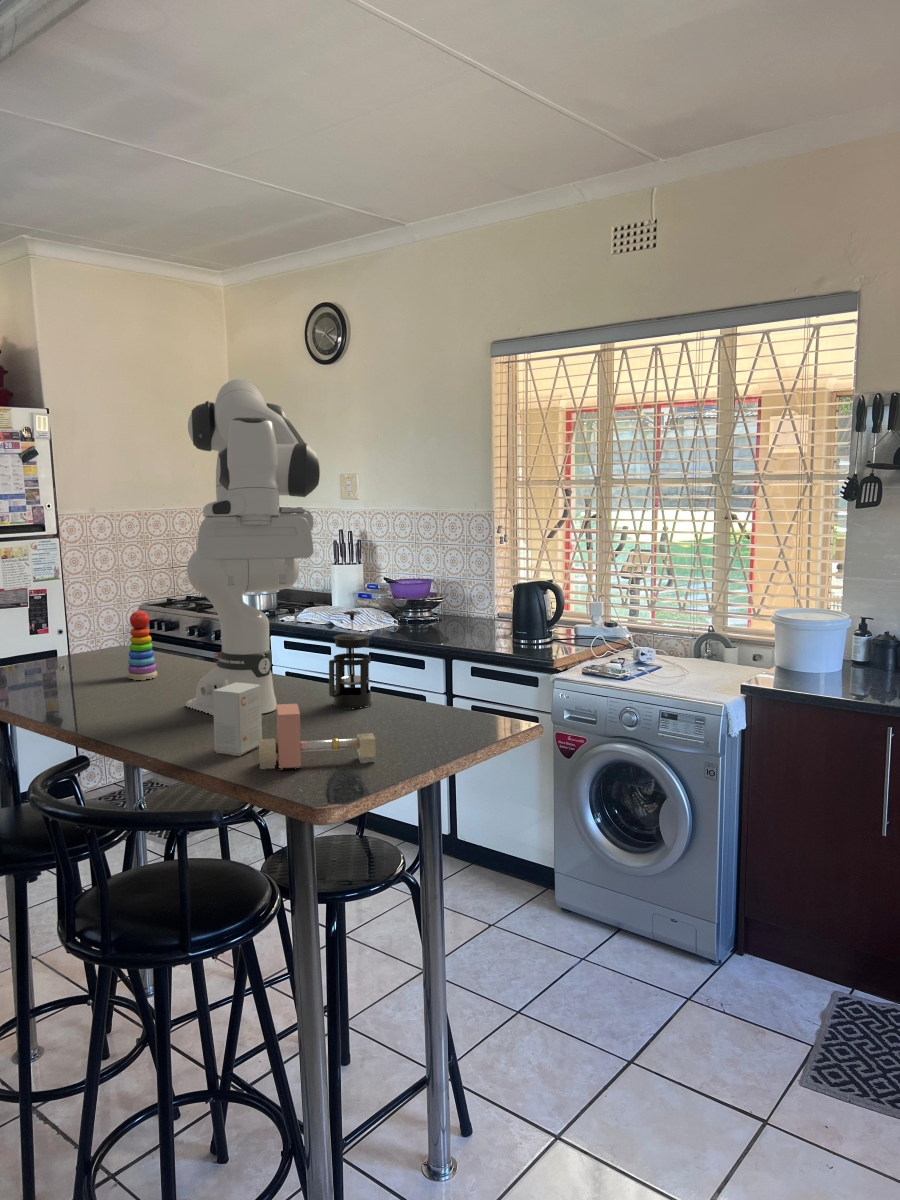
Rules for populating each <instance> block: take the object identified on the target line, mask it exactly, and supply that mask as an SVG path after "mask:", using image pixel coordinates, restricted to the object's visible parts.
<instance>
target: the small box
mask: <svg viewBox="0 0 900 1200" xmlns="http://www.w3.org/2000/svg"><path fill="white" fill-rule="evenodd" d="M213 713H214V715H213V735H214V736H213V738H214V740H213V741H214V744H213V745H214V751H215V750H221V751H228V752H235V753H243V752H245V751H247V750H250V749H252V748H254V747H256V746H258V745H259V739H263V728H262V727H263V726H262V725H263V724H262V723H263V722H262V721H263V720H262V719H263V718H262V717H263V716H262V714H261V685H257V684H249V683H237V682H235V683H233V684H230V685H227V686H224V687H221V688H219V689H216V690H213Z"/></svg>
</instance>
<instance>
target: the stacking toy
mask: <svg viewBox="0 0 900 1200" xmlns="http://www.w3.org/2000/svg"><path fill="white" fill-rule="evenodd" d="M149 623H150V616H149V614H148V613H147V612H145V611H143V610H136V611H134V612H133V613H131V615H130V616H129V624H130V625H131V627H132V628H131V629H130V635H131V637H130V638H129V640H130V644H128V645H129V646H128V647H129V651H128V657H129V658H128V659H127V663H128V667H127V670H128V672H127V673H126V676H127V677H126V678H127V679H128V678H129V679H128V680H130V679H134V680H133V681H136V680H141V681H147V680H146V679H150V680H152V678H153V679H155V678H157V676H158V671H157V664H156V663H155V662H156V661H155V657H154V654H155V653H154V650H153V643H152V640H153V639H152V636H151V635H150V633H151V630H150V629H149V628H148V627H147V626H149Z"/></svg>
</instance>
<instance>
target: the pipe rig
mask: <svg viewBox="0 0 900 1200" xmlns="http://www.w3.org/2000/svg"><path fill="white" fill-rule="evenodd" d="M300 749H301V752H303V753H304V752H319V751H322V752H323V751H332V752H337V751H338V752H339V751H341V750H357V751H356V752H358V754H359V757H360V758H364V757H374V756H375V757H376V737H375V735H374V734H373V732H371V733H370V732H369V733H357V735H356V737H354V738H351V737H350V738H338V737H333V738H332V739H317V740H300ZM277 753H278V743H277V742H276V739H275V738H262V739H259V748H258V761H259V762H258V763H260V766H265V765H276V766H277ZM260 766H259V767H260Z"/></svg>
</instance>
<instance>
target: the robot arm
mask: <svg viewBox="0 0 900 1200" xmlns="http://www.w3.org/2000/svg"><path fill="white" fill-rule="evenodd" d="M281 406H282V405H281ZM281 406H280V405H278V404H275V403H269V402H267V403H266V400H265V398H264V397H263V395H262V393H261V392H260V390H259V389H258V388H257V386H255V384H253V383H252V382H250V381H247V380H244V379H240V378H237V379H232V380H230V381H227V382H226V383H224V384H223V385H222V386H221V388H220V389H219V390H218V393H217V395H216V398H215V401H214V402H212V401H210V402H209V400H206V401H205V402H203V403H201V404H198V405H196V406H195V407H193V409H192V410H191V413H190V415H189V417H188V421H187V432H188V435H189V438H190V440H191V442H192V445H194V447H195V448H196V449H198V450H200V451H204V452H205V451H206V452H212V451H216V452H218V453H217V457H216V469H215V493H216V494H215V495H216V496H215V497H216V500H215V501H212V502H209V503H207V504H205V506H203V508H202V515H203V517H204V519H203V521H202V522H201V524H200V526H199V528H198V534H197V535H198V536H197V539H196V540H197V541H196V542H197V543H196V550H195V551H194V552H193V553H192V554H191V556H190V557H189V559H188V562H187V565H186V573H187V578H188V581H189V583H190V584H191V586H192V587H193V589H194V590H196V591H197V592H199V593H200V594H201V595H203V596H204V597H205V598H206V600H208V601H209V602H210V603H211V605H212V606H213V608H214V609H215V611H216V614H217V616H218V619H219V625H220V626H219V627H220V634H221V651H220V652H216V653H213V654H212V655H213V656H214V655H215V656H214V657H213V659H217V662H216V666H214V667H213V668H212V669H211V670H210V671H209V672H208V673H207V674H205V675H204V676H203V677H201V678H200V679H199V680H198V682H197V685H196V690H195V698H192V699H190V700H188V701H186V702H185V707H186V706H187V708H189V707H190V709H192V708H193V709H192V710H195V709H196V710H195V711H198V710H199V712H201V711H203V712H202V713H204V712H205V714H207V713H209V715H211V716H214V713H213V690H216V689H219V688H221V687H224V686H227V685H230V684H233V683H235V682H237V683H249V684H257V685H261V715H263V714H266V713H271V712H273V711H275V710H276V705H278V703H277V697H276V695H275V690H274V682H273V675H272V674H273V673H272V670H271V668H272V665H273V660H272V659H273V655H272V650H271V649H270V620H269V618H268V616H267V615H266V614H265V612H263V611H262V610H260V609H258V608H257V607H254V606H253V605H252V606H251V605H249V604H247V603H245V602H244V600H243V594H246V593H268V592H276V591H281V590H285V589H288V588H291V587H293V586H294V584H295V583H296V582H297V580H298V578H299V574H300V562H299V559H300V560H301V559H310V558H311V557H312V555H313V554H314V541H313V536H312V530H313V528H314V515H313V514H312V512H310V511H309V510H307V509H305V507H299V506H298V507H286V506H285V507H284V506H283V507H282V506H281V507H280V496H290V497H299V498H306V497H307V496H308V495H310V494H311V493H312V492H314V490H315V489H316V488H317V487H318V486H319V482H320V478H321V466H320V461H319V458H318V457H319V456H318V455H317V452H316V451H315V450H314V449H313V447H311V446H310V445H309V444H308V443H306V442H305V441H304V439H303V438H302V437H301V435H300V434H299V432H298V431H297V429H296V428H295V426H294V425H293V424H292V422H291V421H290V419H288V417H287V416H286V412H285V410H284V409H283V408H282V407H281Z"/></svg>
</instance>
